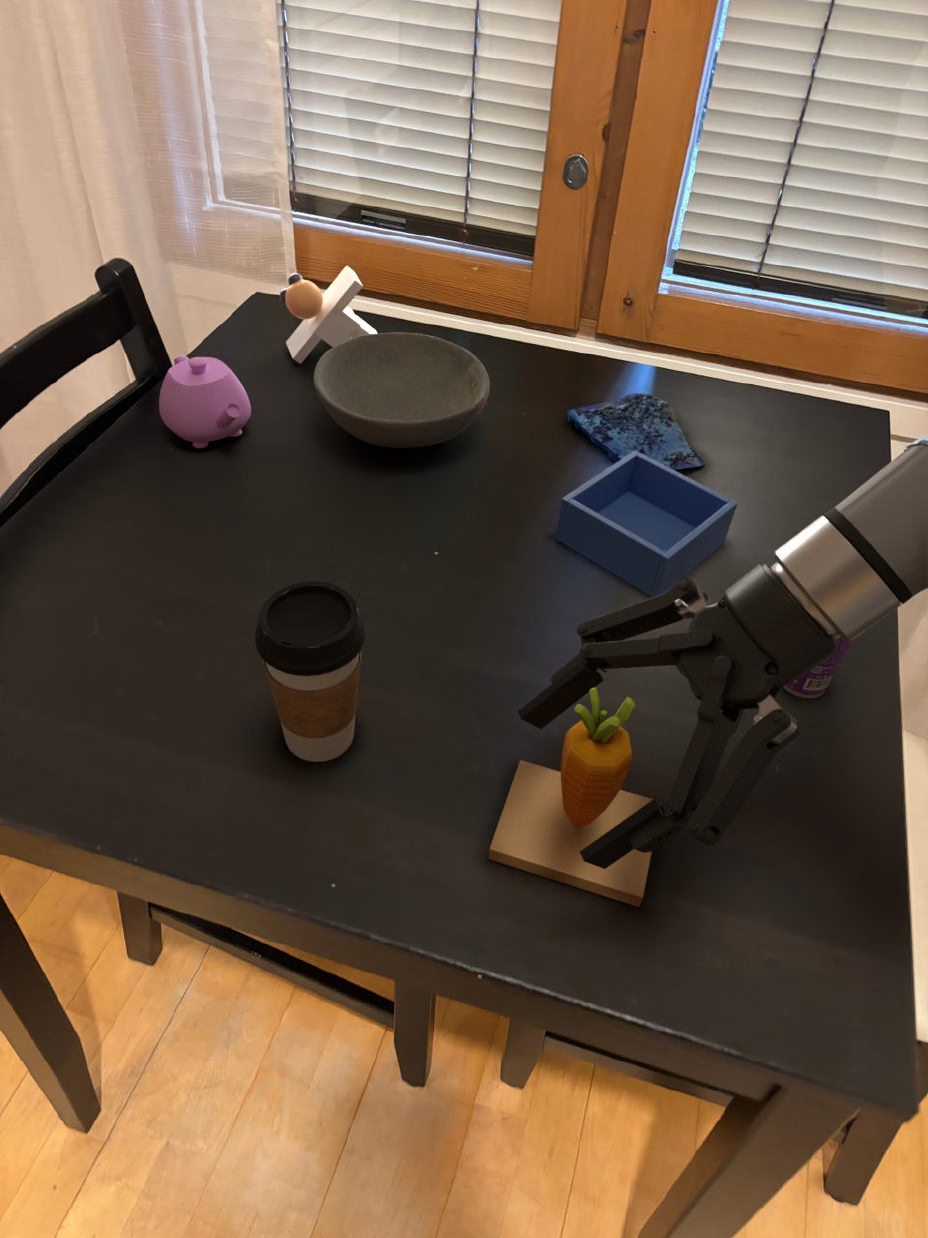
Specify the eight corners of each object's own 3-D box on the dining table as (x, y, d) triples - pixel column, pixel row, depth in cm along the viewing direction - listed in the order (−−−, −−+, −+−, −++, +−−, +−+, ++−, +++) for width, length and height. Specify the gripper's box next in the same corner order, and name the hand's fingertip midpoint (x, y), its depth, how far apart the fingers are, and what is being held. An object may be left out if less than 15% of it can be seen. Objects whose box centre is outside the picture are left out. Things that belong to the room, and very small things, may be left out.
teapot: (222, 394, 115) (211, 326, 109) (280, 448, 107) (273, 378, 101) (146, 417, 110) (130, 348, 104) (201, 476, 102) (188, 405, 96)
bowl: (485, 391, 119) (490, 336, 114) (485, 482, 104) (490, 424, 99) (329, 382, 119) (326, 326, 113) (306, 472, 104) (301, 412, 98)
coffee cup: (252, 757, 74) (230, 633, 64) (297, 687, 80) (283, 562, 70) (344, 787, 73) (336, 664, 62) (383, 712, 79) (381, 589, 68)
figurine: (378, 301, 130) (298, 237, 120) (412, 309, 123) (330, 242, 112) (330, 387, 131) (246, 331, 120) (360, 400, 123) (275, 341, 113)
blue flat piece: (660, 399, 120) (662, 386, 119) (717, 472, 109) (721, 459, 108) (559, 411, 117) (560, 398, 116) (607, 487, 106) (610, 474, 104)
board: (657, 812, 73) (661, 801, 72) (639, 907, 67) (643, 898, 66) (518, 770, 75) (520, 759, 74) (487, 859, 69) (489, 849, 68)
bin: (724, 542, 99) (738, 502, 95) (656, 600, 92) (668, 559, 88) (626, 489, 105) (635, 449, 101) (554, 538, 98) (561, 498, 94)
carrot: (538, 837, 69) (564, 715, 58) (558, 789, 72) (586, 665, 62) (598, 861, 68) (636, 741, 57) (616, 811, 71) (655, 688, 60)
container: (829, 672, 85) (890, 554, 75) (822, 705, 82) (885, 587, 72) (781, 656, 87) (835, 537, 76) (772, 688, 84) (827, 569, 73)
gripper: (941, 763, 52) (655, 946, 59) (737, 517, 69) (532, 683, 75) (902, 724, 47) (596, 929, 54) (692, 468, 64) (477, 651, 70)
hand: (558, 786), depth 65 cm, fingers open, 12 cm apart
